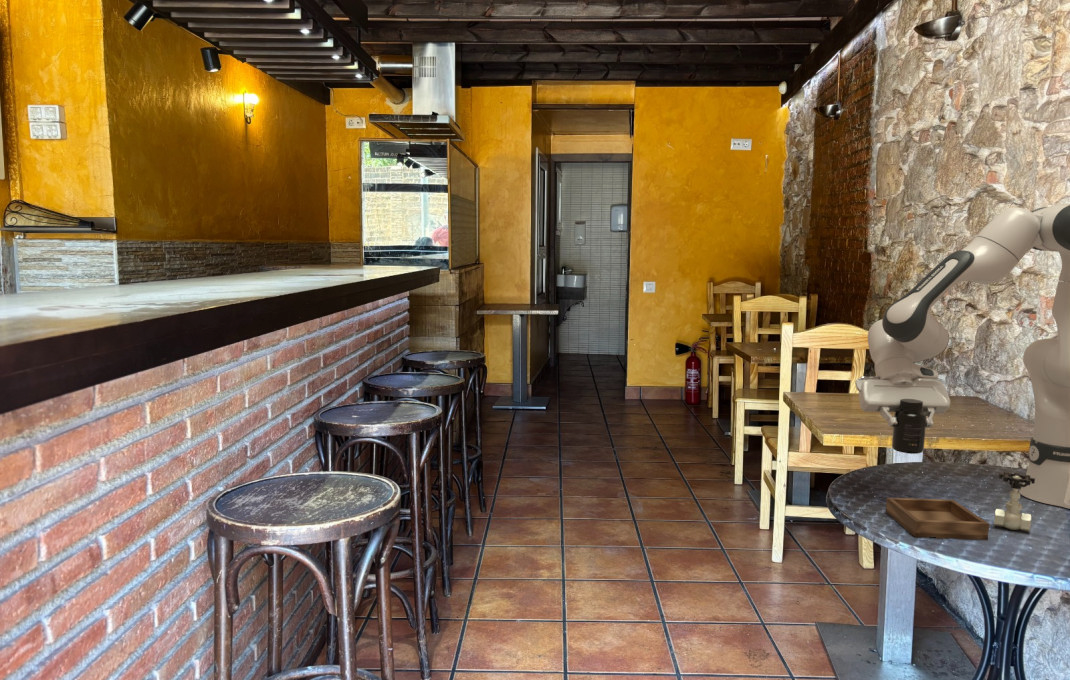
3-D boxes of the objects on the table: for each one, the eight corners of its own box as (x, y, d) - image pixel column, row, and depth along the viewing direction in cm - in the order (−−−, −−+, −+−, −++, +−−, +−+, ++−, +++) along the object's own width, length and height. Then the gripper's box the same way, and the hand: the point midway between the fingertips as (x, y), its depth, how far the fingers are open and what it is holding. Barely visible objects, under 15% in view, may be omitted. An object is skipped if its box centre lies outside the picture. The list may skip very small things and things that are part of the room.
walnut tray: (952, 514, 175) (953, 499, 174) (987, 539, 160) (989, 523, 160) (885, 512, 176) (886, 497, 175) (914, 537, 161) (916, 521, 160)
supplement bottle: (887, 445, 184) (891, 396, 182) (917, 447, 183) (922, 398, 182) (896, 453, 177) (900, 402, 176) (927, 455, 176) (932, 404, 175)
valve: (1029, 537, 162) (1035, 482, 161) (993, 530, 166) (998, 477, 164) (1029, 527, 168) (1034, 475, 166) (994, 521, 171) (999, 469, 170)
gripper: (857, 369, 185) (870, 417, 176) (944, 370, 184) (960, 420, 175) (849, 383, 190) (861, 431, 181) (934, 385, 189) (949, 434, 180)
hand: (911, 426), depth 178 cm, fingers closed on supplement bottle, 7 cm apart
